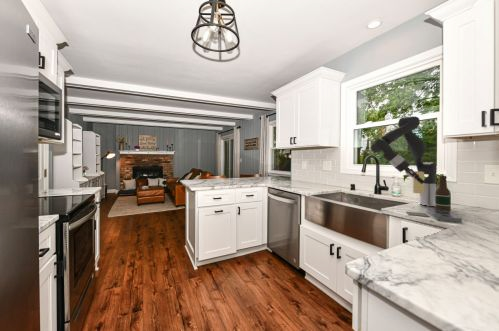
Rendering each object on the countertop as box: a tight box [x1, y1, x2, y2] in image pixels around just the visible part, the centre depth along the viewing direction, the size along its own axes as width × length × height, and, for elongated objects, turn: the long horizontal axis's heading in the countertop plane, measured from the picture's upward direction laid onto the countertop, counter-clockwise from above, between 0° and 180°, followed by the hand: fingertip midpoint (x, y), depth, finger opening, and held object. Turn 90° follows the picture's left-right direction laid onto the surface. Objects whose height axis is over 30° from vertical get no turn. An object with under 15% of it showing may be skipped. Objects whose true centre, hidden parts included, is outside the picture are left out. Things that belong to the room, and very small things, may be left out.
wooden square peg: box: [412, 170, 425, 194], centre depth 134 cm, size 5×5×14 cm
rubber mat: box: [406, 211, 430, 218], centre depth 135 cm, size 10×10×1 cm
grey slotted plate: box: [425, 207, 463, 224], centre depth 129 cm, size 26×10×2 cm, turn 151°
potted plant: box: [434, 175, 452, 212], centre depth 144 cm, size 8×8×24 cm
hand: (422, 182), depth 133 cm, fingers closed on wooden square peg, 4 cm apart
